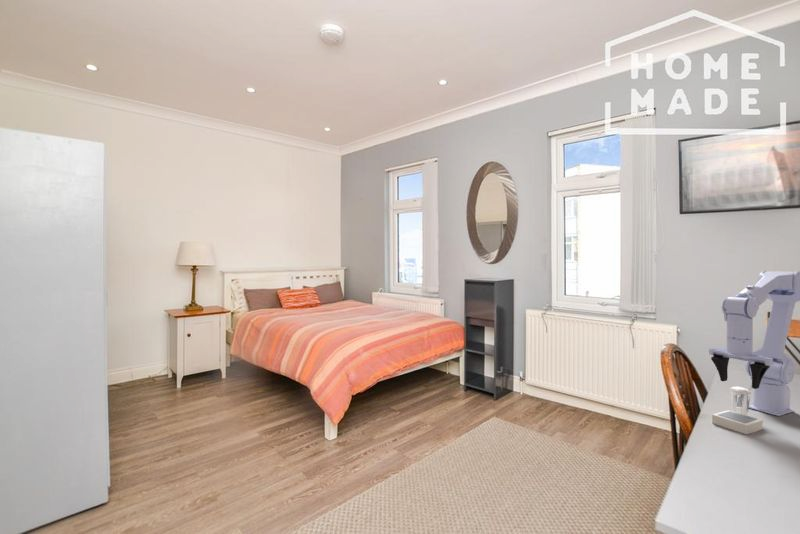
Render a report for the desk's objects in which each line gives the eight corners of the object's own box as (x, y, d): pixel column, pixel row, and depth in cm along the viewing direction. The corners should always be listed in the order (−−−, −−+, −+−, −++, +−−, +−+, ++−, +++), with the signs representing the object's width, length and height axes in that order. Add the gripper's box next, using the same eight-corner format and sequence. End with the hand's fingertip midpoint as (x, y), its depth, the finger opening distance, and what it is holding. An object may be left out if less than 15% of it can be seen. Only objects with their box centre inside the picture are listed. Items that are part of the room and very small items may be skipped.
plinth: (728, 418, 113) (728, 409, 113) (762, 429, 106) (762, 419, 106) (712, 423, 110) (712, 414, 110) (746, 434, 103) (746, 424, 103)
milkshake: (757, 422, 111) (758, 387, 111) (736, 420, 112) (736, 386, 112) (746, 416, 115) (747, 382, 115) (726, 414, 116) (726, 381, 116)
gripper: (703, 335, 118) (703, 379, 118) (763, 343, 105) (763, 393, 105) (716, 333, 121) (716, 376, 121) (776, 341, 108) (776, 390, 108)
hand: (739, 384), depth 113 cm, fingers open, 7 cm apart
